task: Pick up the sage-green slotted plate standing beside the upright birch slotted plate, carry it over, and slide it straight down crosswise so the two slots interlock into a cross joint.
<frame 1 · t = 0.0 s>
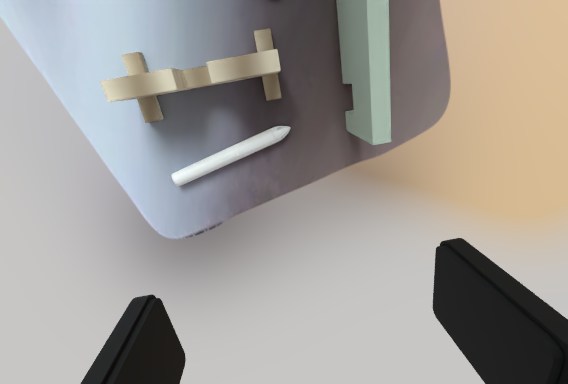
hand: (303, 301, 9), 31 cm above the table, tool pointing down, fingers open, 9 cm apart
birch plate: (207, 77, 35), on the table
green plate: (348, 60, 35), on the table
marker: (233, 152, 39), on the table
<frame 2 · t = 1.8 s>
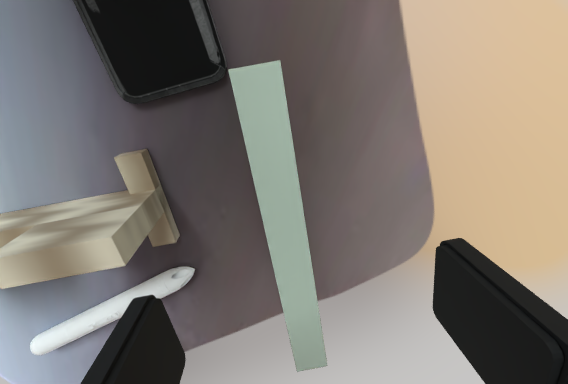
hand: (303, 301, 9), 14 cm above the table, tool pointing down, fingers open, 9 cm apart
birch plate: (57, 214, 22), on the table
green plate: (278, 185, 23), on the table
marker: (121, 298, 27), on the table
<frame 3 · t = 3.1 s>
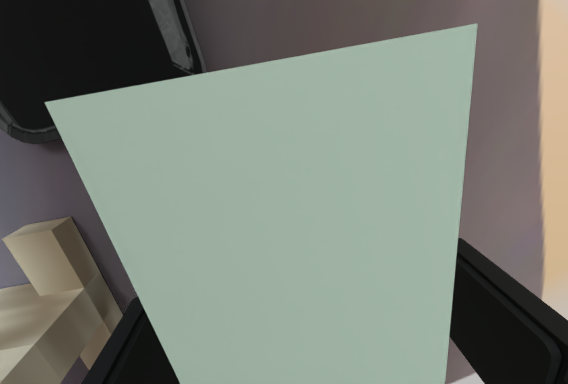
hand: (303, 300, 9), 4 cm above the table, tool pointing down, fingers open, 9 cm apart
green plate: (297, 268, 14), on the table
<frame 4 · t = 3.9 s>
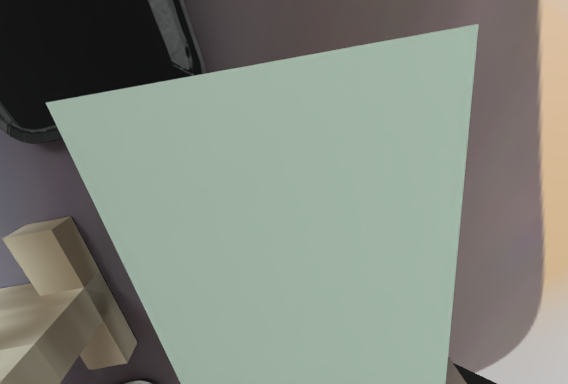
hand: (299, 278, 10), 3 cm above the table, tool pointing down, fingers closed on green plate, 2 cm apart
green plate: (297, 268, 14), on the table, touching gripper
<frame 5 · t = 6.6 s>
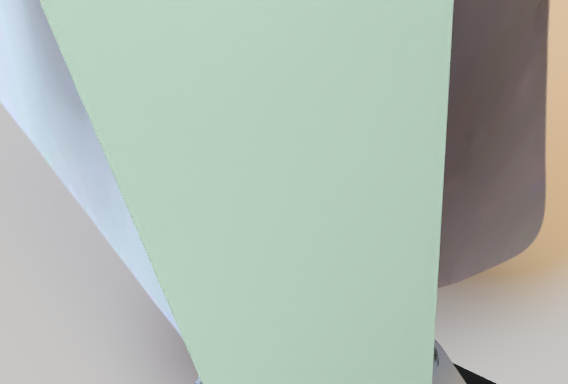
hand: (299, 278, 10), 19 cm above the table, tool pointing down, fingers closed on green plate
green plate: (293, 243, 13), point 16 cm above the table, touching gripper
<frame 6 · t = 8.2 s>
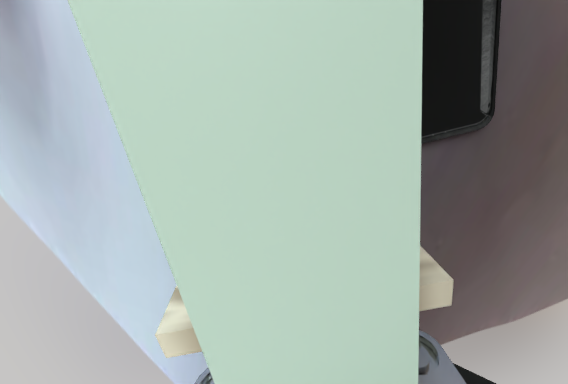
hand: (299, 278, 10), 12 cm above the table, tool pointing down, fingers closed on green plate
birch plate: (293, 246, 24), on the table
green plate: (292, 241, 14), point 9 cm above the table, touching gripper
phone: (429, 30, 19), on the table
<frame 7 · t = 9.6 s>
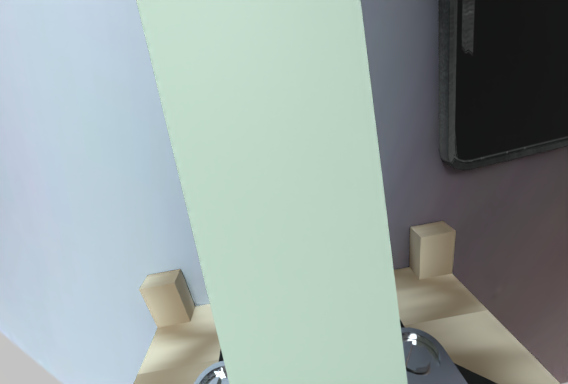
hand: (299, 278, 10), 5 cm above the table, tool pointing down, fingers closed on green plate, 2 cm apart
birch plate: (304, 298, 18), on the table
green plate: (295, 258, 13), point 3 cm above the table, tilted 14°, touching birch plate, gripper
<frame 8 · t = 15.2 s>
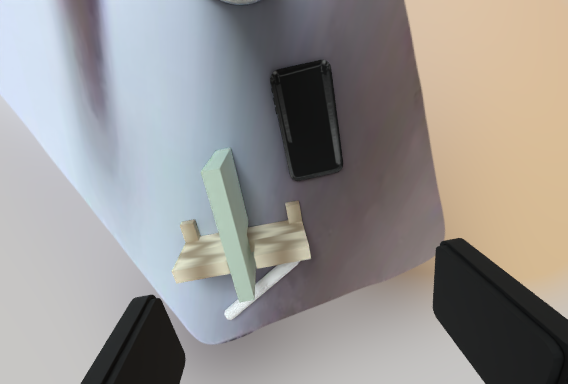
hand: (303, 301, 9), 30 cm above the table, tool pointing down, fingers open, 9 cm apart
birch plate: (245, 233, 42), on the table
green plate: (238, 206, 41), on the table, touching birch plate
marker: (264, 279, 47), on the table
phone: (307, 123, 37), on the table
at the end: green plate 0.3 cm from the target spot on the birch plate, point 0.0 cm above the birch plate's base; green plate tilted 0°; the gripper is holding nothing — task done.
